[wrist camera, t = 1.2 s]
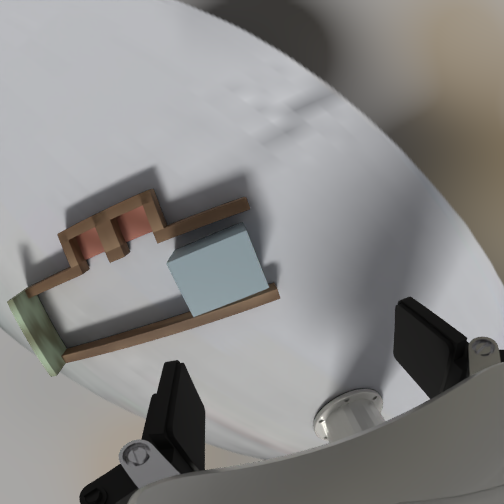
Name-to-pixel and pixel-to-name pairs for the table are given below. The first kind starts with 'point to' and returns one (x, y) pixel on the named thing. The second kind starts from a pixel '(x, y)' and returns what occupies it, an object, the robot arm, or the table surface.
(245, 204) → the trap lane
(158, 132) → the table surface
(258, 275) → the slate block
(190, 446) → the robot arm
